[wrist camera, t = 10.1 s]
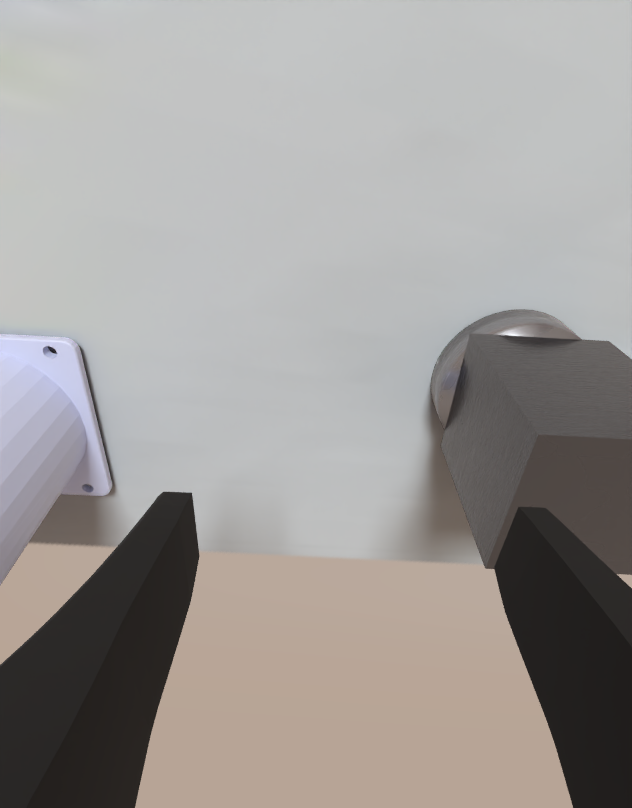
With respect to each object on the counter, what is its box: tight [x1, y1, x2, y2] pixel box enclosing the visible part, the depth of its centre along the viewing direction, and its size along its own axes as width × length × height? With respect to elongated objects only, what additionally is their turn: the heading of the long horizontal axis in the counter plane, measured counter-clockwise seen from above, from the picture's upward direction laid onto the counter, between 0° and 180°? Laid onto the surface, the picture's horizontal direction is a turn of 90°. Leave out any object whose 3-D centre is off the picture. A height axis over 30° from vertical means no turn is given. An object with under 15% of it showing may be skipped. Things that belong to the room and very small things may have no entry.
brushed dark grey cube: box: [441, 333, 632, 575], centre depth 15 cm, size 5×5×6 cm
